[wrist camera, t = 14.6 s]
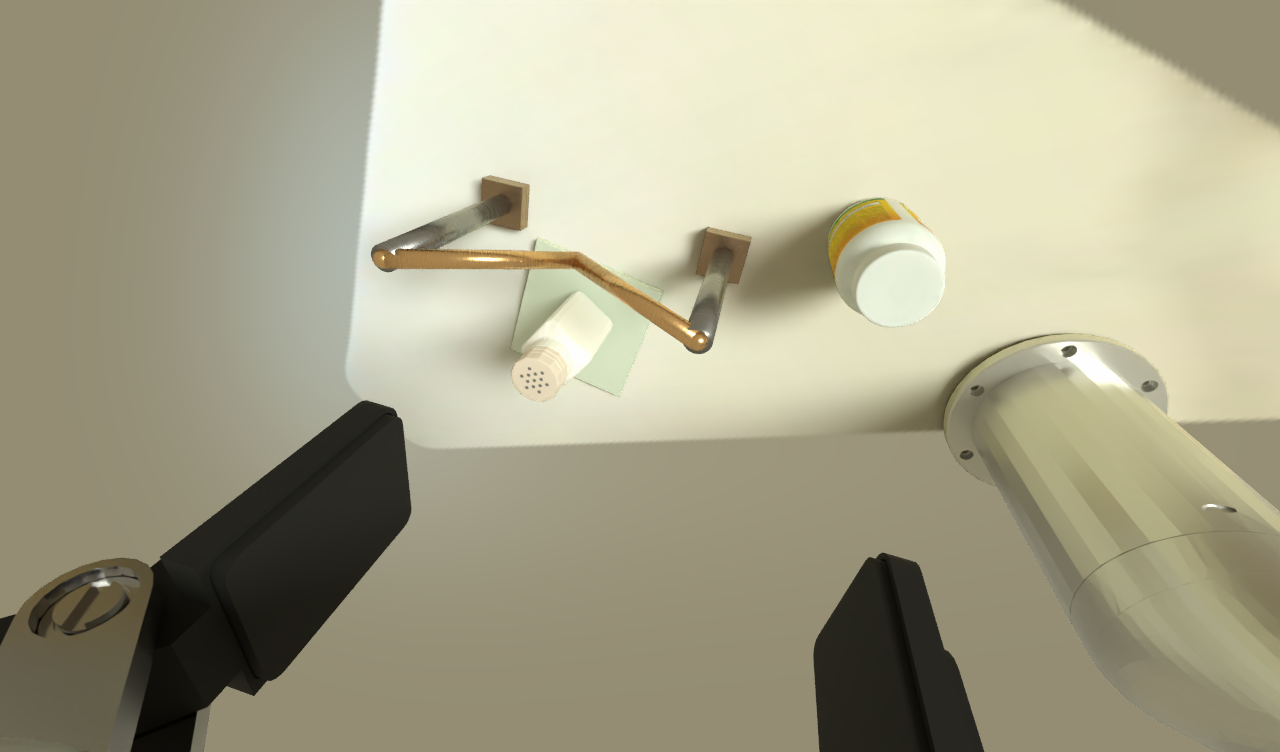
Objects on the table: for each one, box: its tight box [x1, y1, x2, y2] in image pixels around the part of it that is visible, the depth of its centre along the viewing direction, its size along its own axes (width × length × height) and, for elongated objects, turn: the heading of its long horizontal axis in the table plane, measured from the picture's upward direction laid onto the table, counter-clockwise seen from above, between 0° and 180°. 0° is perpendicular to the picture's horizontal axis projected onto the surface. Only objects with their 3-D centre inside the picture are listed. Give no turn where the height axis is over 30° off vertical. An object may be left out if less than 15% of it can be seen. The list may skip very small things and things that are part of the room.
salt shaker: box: [511, 291, 613, 401], centre depth 36 cm, size 4×4×10 cm
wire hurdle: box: [371, 176, 751, 354], centre depth 30 cm, size 19×3×14 cm, turn 80°
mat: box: [511, 238, 663, 397], centre depth 40 cm, size 10×10×1 cm
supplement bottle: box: [827, 197, 946, 327], centre depth 29 cm, size 5×5×10 cm
